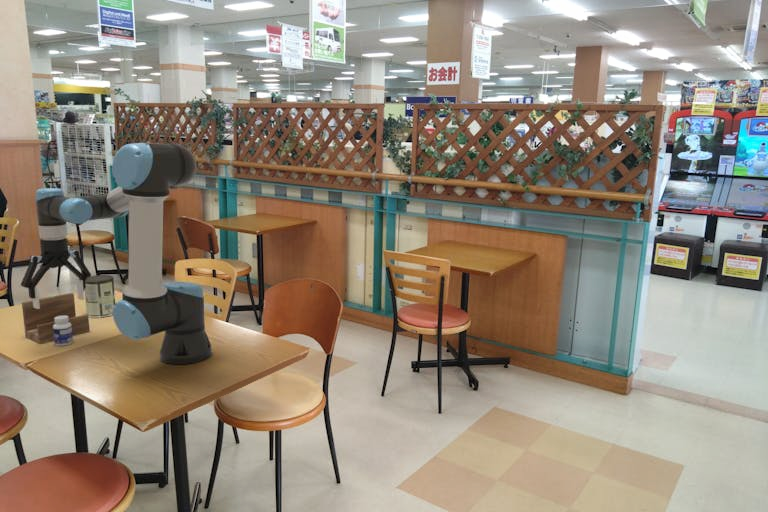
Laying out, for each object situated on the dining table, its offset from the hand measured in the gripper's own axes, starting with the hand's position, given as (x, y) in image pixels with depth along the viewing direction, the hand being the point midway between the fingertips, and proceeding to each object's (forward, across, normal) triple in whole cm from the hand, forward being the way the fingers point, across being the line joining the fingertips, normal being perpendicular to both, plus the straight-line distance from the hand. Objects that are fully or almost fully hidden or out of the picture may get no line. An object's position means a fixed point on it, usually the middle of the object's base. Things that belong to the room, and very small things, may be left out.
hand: (59, 303), depth 183 cm
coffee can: (+14, -24, -22) cm, 35 cm away
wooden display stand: (+13, -3, -10) cm, 17 cm away
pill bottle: (+14, 0, 0) cm, 14 cm away
